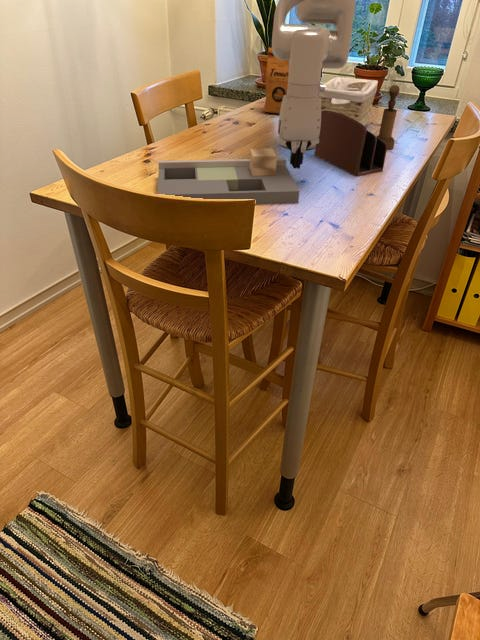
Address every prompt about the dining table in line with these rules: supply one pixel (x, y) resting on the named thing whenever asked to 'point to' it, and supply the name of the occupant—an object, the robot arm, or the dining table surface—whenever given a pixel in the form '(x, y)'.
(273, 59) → the coffee package
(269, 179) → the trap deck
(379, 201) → the dining table surface
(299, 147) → the robot arm
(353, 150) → the letter holder
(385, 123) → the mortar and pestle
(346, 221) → the dining table surface
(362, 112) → the storage basket
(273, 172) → the beech block
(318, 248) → the dining table surface
